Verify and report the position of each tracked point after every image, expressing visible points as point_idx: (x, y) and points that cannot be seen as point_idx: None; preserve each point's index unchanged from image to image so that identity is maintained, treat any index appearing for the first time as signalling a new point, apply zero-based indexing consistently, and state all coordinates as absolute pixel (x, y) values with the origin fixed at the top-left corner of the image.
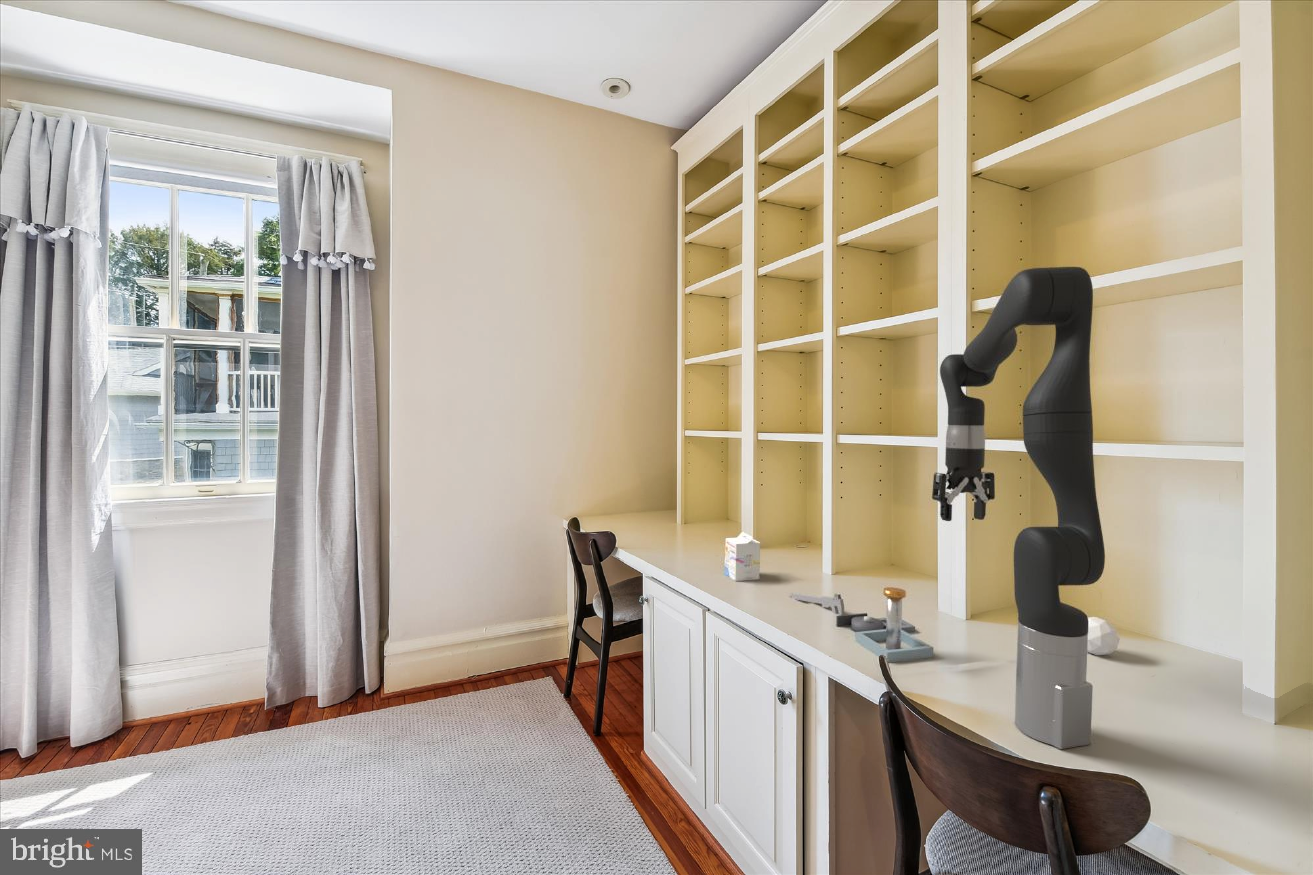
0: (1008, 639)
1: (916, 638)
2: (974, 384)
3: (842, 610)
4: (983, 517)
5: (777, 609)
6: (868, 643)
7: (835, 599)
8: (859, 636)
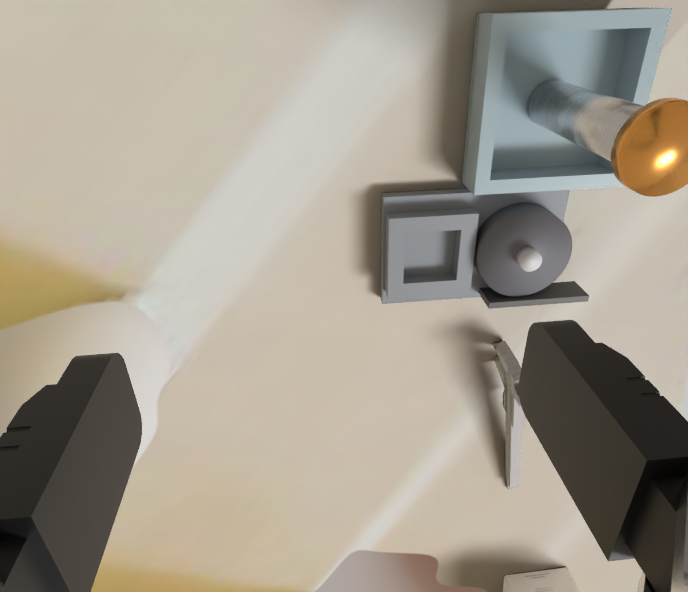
0: (93, 128)
1: (486, 101)
2: None
3: (509, 355)
4: (81, 363)
5: None
6: None
7: None
8: None
